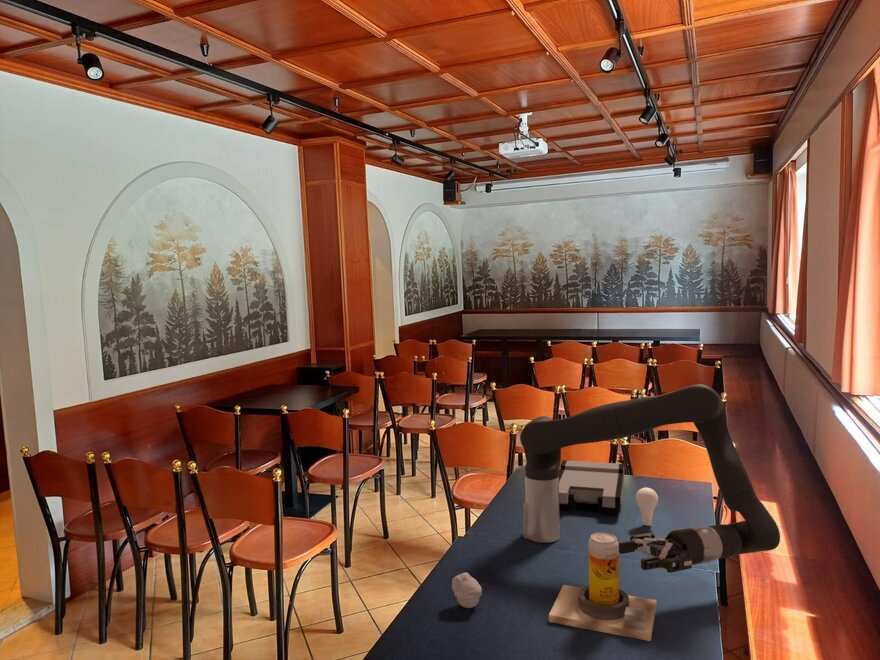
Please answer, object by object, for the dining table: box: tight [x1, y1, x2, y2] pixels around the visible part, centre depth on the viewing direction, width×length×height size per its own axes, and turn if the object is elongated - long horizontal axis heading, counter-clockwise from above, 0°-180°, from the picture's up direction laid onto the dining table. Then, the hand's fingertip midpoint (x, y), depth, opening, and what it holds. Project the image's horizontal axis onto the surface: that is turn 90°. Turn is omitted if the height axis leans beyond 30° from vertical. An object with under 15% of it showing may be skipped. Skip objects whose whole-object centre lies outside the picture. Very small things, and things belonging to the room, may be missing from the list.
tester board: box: [548, 584, 657, 642], centre depth 131 cm, size 20×14×4 cm
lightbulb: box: [635, 487, 659, 527], centre depth 178 cm, size 6×6×11 cm
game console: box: [559, 459, 625, 514], centre depth 202 cm, size 21×32×8 cm, turn 162°
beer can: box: [588, 532, 620, 606], centre depth 130 cm, size 6×6×15 cm
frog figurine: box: [451, 571, 483, 609], centre depth 135 cm, size 6×7×7 cm
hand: (629, 556), depth 132 cm, fingers open, 8 cm apart
